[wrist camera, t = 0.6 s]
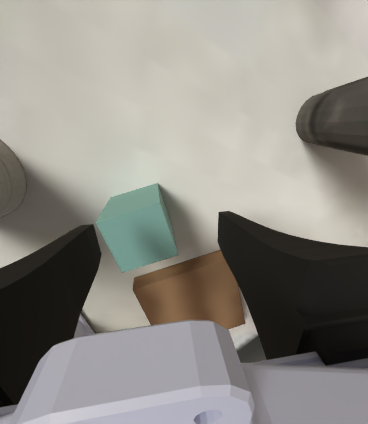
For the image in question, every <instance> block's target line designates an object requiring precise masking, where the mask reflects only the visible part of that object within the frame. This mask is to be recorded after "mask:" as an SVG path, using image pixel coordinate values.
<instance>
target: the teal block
mask: <svg viewBox="0 0 368 424" xmlns="http://www.w3.org/2000/svg"><path fill="white" fill-rule="evenodd" d="M96 225H97V226H98V228H99V230H100V232H101V234H102V236H103V238H104V240H105V242H106V244H107V245H108V247H109V249H110V251H111V253H112V255H113V257H114V259H115V261H116V263H117V265H118V266H119V268H120V270H121V272H122V273H123V272H126V271H129V270H132V269H136V268H139V267H142V266H145V265H148V264H151V263H154V262H157V261H161V260H164V259H167V258H170V257H173V256H176V255H178V252H177V248H176V243H175V238H174V233H173V229H172V224H171V221H170V218H169V215H168V212H167V209H166V206H165V203H164V200H163V197H162V194H161V191H160V188H159V185H158V183H156V184H153V185H150V186H147V187H143V188H140V189H137V190H134V191H130V192H127V193H124V194H121V195H117V196H114V197H111V198H110V200H109V201H108V203H107V205H106V206H105V208H104V210H103V211H102V213H101V215H100V216H99V218H98V220H97V221H96Z"/></svg>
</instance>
